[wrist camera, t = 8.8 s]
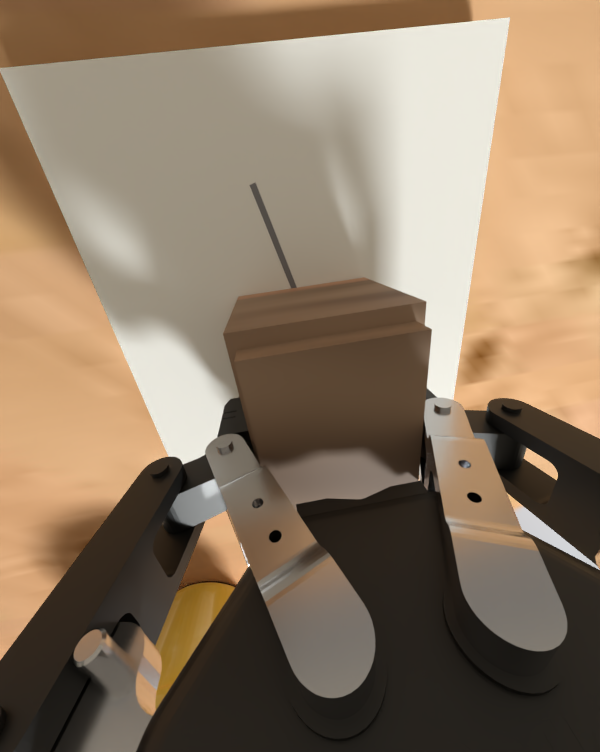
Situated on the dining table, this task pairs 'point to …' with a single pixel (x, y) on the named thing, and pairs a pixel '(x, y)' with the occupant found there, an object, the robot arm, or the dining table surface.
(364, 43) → the board
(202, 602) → the plant pot
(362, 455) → the block
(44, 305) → the dining table surface
